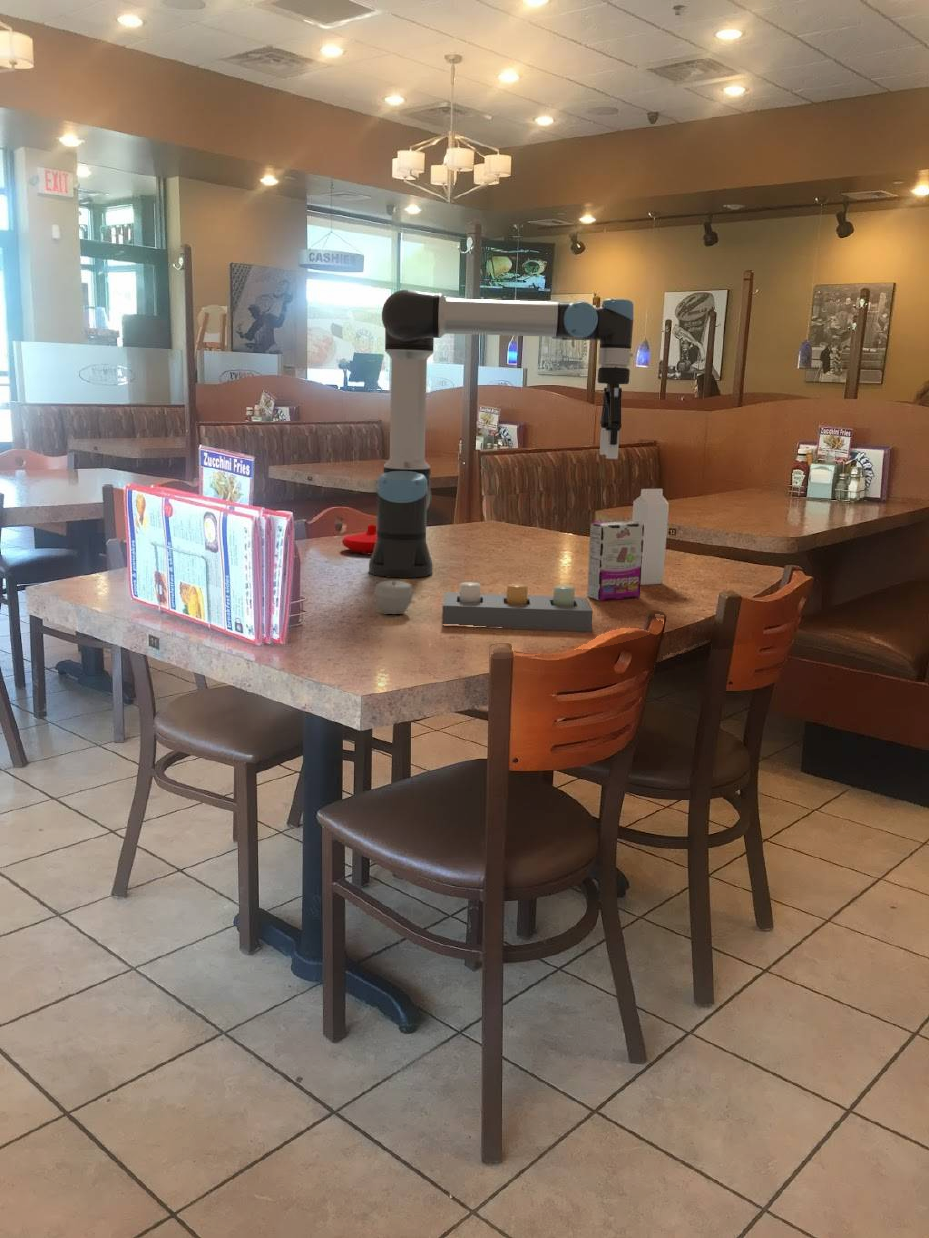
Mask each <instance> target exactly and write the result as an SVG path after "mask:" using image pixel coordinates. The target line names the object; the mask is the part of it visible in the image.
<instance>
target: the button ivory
mask: <svg viewBox="0 0 929 1238" xmlns="http://www.w3.org/2000/svg"><path fill="white" fill-rule="evenodd" d="M481 588H482V585H481V583H478V582H468V581H467V582H460V583H459V593H460V601H459V602H468V603H480V595H481V594H482V593H481V591H482V590H481Z"/></svg>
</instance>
